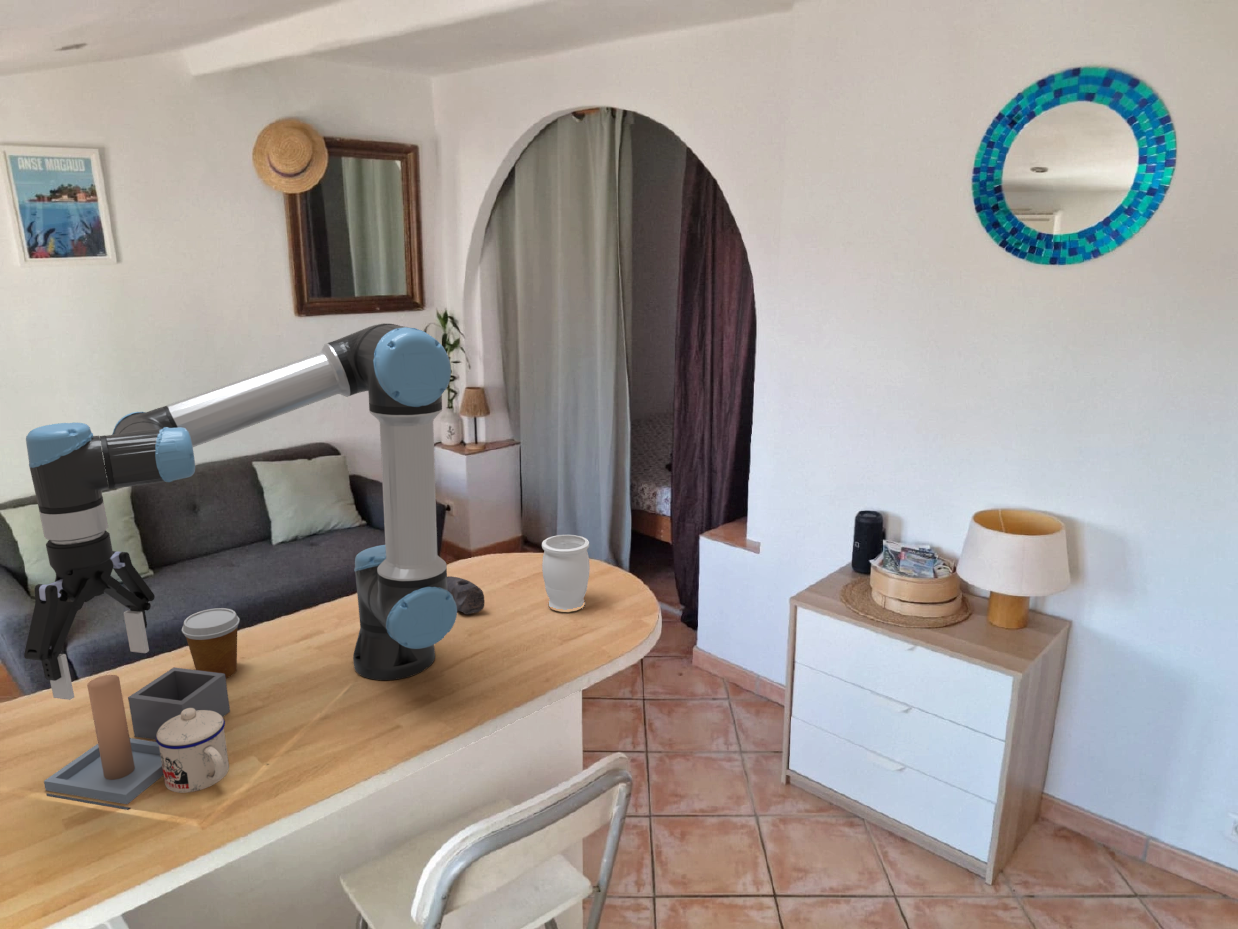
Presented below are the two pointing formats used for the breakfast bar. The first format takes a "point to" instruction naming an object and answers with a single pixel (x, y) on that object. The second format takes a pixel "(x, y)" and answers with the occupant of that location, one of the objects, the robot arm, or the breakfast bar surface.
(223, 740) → the teacup with lid
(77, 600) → the robot arm
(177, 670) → the open square box
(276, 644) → the breakfast bar surface
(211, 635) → the disposable coffee cup
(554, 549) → the jar
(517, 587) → the breakfast bar surface
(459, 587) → the perforated stone tool
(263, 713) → the breakfast bar surface
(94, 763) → the tray
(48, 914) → the breakfast bar surface
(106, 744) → the dowel
